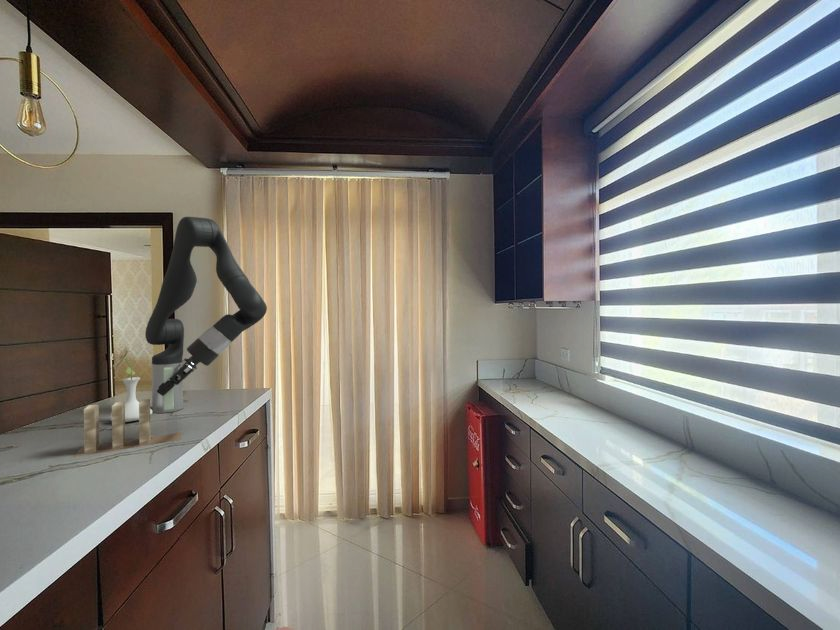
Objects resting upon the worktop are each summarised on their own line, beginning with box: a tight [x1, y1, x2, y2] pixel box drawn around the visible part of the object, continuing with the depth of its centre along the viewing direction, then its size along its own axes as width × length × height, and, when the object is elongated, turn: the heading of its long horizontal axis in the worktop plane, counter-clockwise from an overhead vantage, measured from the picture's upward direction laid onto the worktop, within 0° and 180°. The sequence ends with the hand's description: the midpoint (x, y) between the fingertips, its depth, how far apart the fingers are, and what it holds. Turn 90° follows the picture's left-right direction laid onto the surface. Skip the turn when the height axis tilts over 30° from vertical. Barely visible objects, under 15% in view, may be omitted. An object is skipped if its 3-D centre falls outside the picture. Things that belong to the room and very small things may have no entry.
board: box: [73, 432, 182, 458], centre depth 100 cm, size 22×7×1 cm, turn 122°
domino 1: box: [111, 401, 126, 449], centre depth 98 cm, size 2×5×11 cm, turn 32°
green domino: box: [164, 367, 174, 410], centre depth 104 cm, size 2×5×11 cm, turn 31°
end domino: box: [83, 403, 100, 454], centre depth 95 cm, size 2×5×11 cm, turn 31°
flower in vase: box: [109, 345, 154, 423], centre depth 123 cm, size 13×11×25 cm
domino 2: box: [138, 398, 152, 445], centre depth 101 cm, size 2×5×11 cm, turn 32°
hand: (160, 391), depth 103 cm, fingers closed on green domino, 5 cm apart
